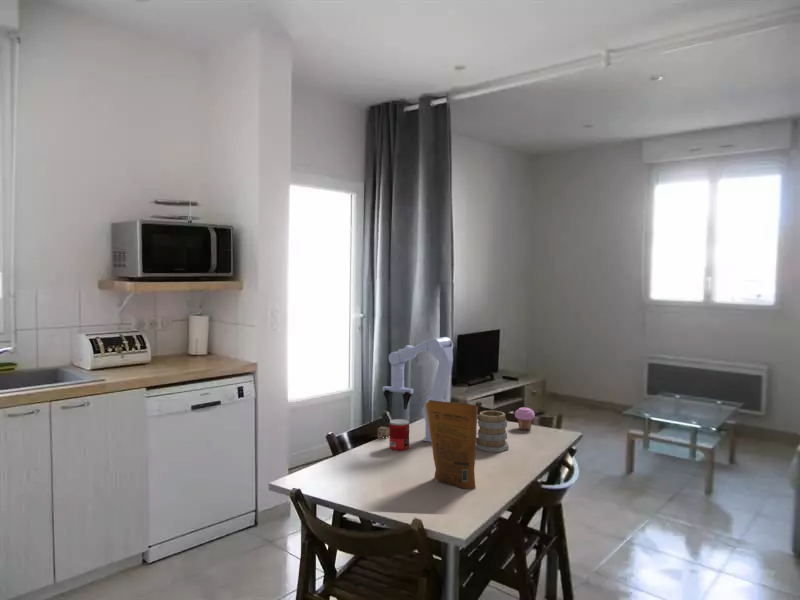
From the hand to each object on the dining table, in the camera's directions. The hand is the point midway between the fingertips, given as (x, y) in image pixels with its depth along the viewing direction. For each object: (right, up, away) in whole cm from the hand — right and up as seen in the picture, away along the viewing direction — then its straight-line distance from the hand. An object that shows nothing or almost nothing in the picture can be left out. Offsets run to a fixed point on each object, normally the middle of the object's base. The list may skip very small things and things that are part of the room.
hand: (397, 408), depth 251 cm
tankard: (+35, -12, -24) cm, 44 cm away
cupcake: (+58, -11, +4) cm, 59 cm away
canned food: (+1, -12, -25) cm, 28 cm away
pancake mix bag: (+19, -13, -65) cm, 69 cm away
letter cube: (-6, -11, -9) cm, 16 cm away
